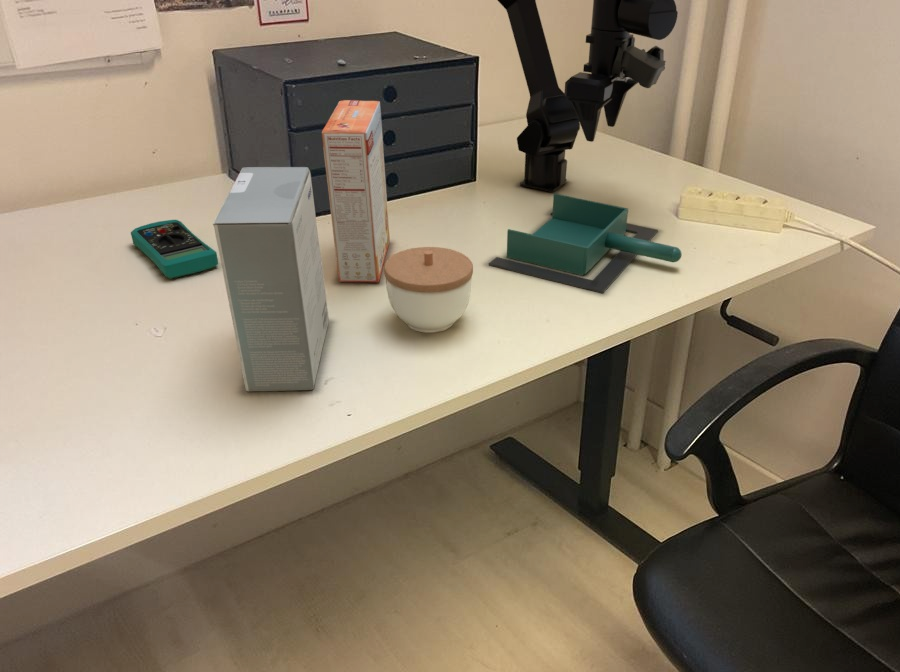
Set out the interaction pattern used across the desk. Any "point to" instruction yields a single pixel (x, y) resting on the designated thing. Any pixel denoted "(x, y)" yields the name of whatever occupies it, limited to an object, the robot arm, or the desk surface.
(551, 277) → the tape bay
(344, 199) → the cracker box
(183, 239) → the digital multimeter
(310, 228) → the hard drive box
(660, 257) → the dustpan
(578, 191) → the desk surface
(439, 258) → the trinket box
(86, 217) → the desk surface
